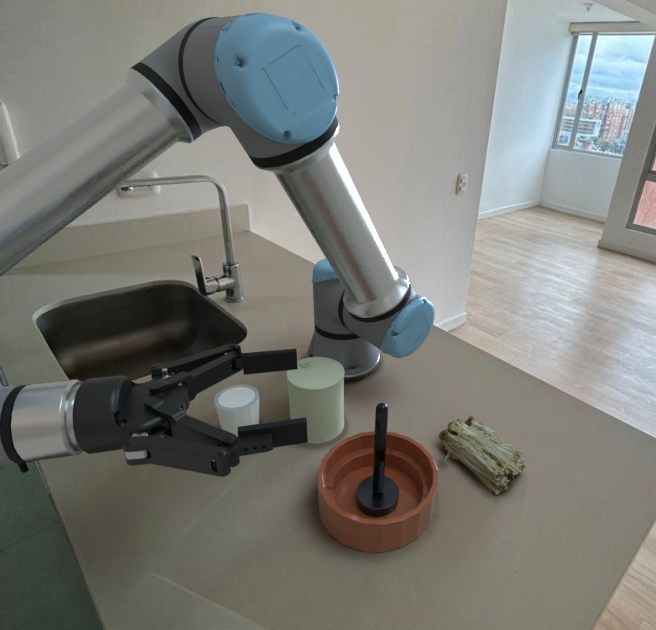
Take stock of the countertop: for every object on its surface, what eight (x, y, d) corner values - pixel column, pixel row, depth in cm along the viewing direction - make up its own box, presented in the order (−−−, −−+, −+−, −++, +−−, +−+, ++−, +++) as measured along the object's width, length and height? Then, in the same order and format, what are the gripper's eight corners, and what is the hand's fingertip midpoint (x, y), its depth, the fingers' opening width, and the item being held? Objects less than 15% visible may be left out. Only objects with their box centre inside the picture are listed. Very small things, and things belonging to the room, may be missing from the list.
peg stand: (367, 477, 67) (371, 384, 60) (404, 490, 66) (412, 397, 58) (348, 508, 62) (349, 411, 54) (388, 523, 61) (394, 425, 53)
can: (321, 403, 83) (319, 347, 77) (355, 426, 78) (356, 369, 72) (278, 427, 76) (273, 368, 71) (313, 454, 71) (310, 394, 66)
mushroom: (429, 452, 74) (432, 426, 72) (468, 428, 80) (472, 404, 77) (496, 509, 65) (502, 483, 62) (535, 478, 71) (542, 452, 68)
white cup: (271, 428, 76) (268, 395, 73) (236, 451, 71) (231, 416, 68) (245, 411, 79) (241, 378, 76) (210, 432, 74) (204, 398, 71)
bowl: (353, 447, 74) (353, 419, 71) (448, 479, 69) (452, 450, 66) (295, 528, 60) (293, 496, 57) (409, 575, 55) (412, 543, 52)
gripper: (123, 376, 57) (295, 359, 64) (46, 551, 36) (313, 499, 43) (109, 325, 54) (292, 312, 60) (16, 485, 33) (311, 440, 39)
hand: (301, 390), depth 52 cm, fingers open, 13 cm apart
